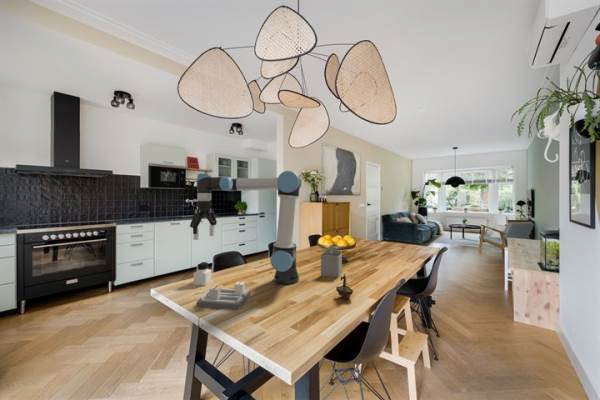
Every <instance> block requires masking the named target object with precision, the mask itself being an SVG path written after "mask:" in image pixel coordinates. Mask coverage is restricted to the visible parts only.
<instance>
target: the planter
mask: <svg viewBox="0 0 600 400" xmlns="http://www.w3.org/2000/svg"><path fill="white" fill-rule="evenodd" d="M342 265H343V252H342V251H340V249H338V248H337V247H336V246H334V245H332V244H331V245H330V246H329V247H328V248H326V249H325V250H324V251H323V252H322V253H321V254H320V277H325V276H326V278H327V277H328V278H335V277H337V279H338V278H339V277H341V275H342V273H343V271H342V270H343V269H342V268H343V267H342Z"/></svg>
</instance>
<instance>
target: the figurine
mask: <svg viewBox="0 0 600 400" xmlns="http://www.w3.org/2000/svg"><path fill="white" fill-rule="evenodd" d="M340 281H343V282H342V285H340V286H336V287H335V291H336V292H337V294H338V296H340V298H342V299H349V298H351V296H352V295H353V293H354V290H353V289H352V288H351V287H349V286H348V282H347V276H346V274H343V276H340Z"/></svg>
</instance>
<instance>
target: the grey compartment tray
mask: <svg viewBox="0 0 600 400" xmlns="http://www.w3.org/2000/svg"><path fill="white" fill-rule="evenodd" d="M250 296H251V291H250V290H249V289H245V292H244V293H243V295H242V294H235V288H233V289H232V288H221V298H220V299H219V300H211V299H209V292H207V293H205V294H203V295H201V296H200V297H199V300H197V301H196V307H201V308H215V309H227V310H239V309H240V308H242V306H243V305H244V303H245V302H246V301H247V300H248V299H249V298H250Z"/></svg>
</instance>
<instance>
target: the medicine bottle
mask: <svg viewBox="0 0 600 400" xmlns="http://www.w3.org/2000/svg"><path fill="white" fill-rule="evenodd" d="M211 282H212V269H209V263H208V262H207V261H201V262H198V263H196V271H194V272H193V286H199V287H200V286H203V287H204V286H205V287H206V286H207V285H208V284H210V283H211Z"/></svg>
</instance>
